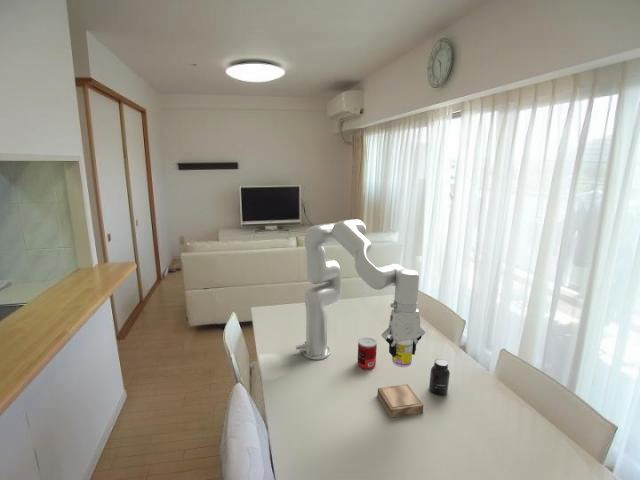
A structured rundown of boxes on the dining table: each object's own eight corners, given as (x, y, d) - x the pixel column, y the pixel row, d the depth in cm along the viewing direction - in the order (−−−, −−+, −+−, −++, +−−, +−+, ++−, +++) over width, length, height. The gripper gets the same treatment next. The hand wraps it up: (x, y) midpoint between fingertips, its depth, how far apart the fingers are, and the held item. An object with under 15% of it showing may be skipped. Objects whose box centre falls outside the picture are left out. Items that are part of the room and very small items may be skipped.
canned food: (377, 362, 151) (378, 339, 149) (372, 372, 144) (373, 347, 142) (360, 358, 155) (361, 335, 152) (354, 367, 147) (355, 343, 145)
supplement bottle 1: (388, 360, 124) (390, 326, 121) (403, 356, 126) (405, 323, 124) (399, 370, 118) (401, 335, 115) (415, 366, 120) (417, 331, 118)
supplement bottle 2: (438, 398, 129) (441, 369, 126) (425, 388, 134) (427, 360, 132) (451, 393, 132) (454, 364, 129) (438, 383, 138) (440, 355, 135)
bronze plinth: (390, 417, 118) (391, 409, 118) (377, 395, 130) (377, 387, 129) (422, 412, 121) (423, 404, 120) (407, 391, 132) (407, 383, 132)
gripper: (385, 312, 112) (383, 362, 116) (434, 308, 116) (430, 356, 120) (377, 303, 119) (374, 351, 123) (423, 299, 123) (419, 346, 127)
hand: (402, 353), depth 121 cm, fingers closed on supplement bottle 1, 6 cm apart
